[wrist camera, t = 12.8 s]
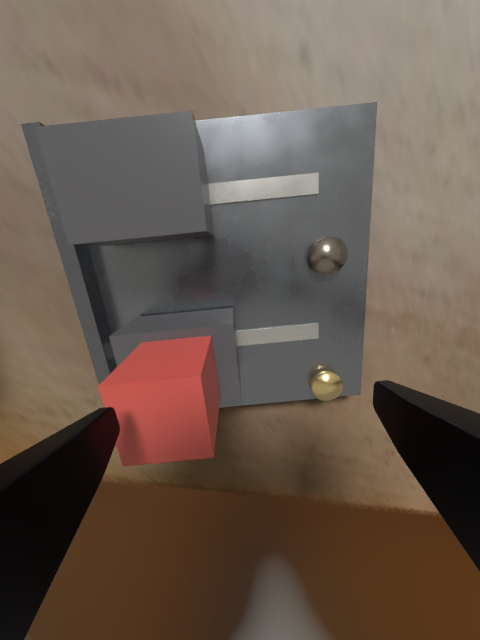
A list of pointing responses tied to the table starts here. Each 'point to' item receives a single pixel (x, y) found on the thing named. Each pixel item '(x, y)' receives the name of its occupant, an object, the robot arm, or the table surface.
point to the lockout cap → (165, 401)
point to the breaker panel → (252, 253)
